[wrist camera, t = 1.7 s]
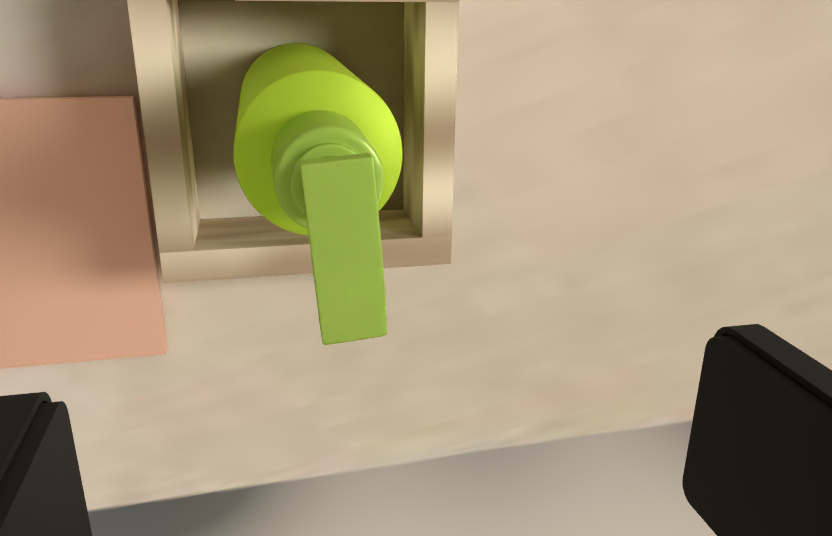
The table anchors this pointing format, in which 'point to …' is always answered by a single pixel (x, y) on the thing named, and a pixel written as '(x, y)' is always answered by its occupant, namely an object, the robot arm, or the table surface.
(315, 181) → the soap dispenser
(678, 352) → the table surface
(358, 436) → the table surface
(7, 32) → the table surface
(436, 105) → the open box
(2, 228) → the plate
